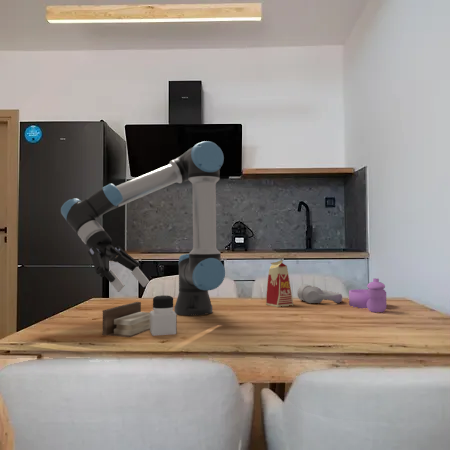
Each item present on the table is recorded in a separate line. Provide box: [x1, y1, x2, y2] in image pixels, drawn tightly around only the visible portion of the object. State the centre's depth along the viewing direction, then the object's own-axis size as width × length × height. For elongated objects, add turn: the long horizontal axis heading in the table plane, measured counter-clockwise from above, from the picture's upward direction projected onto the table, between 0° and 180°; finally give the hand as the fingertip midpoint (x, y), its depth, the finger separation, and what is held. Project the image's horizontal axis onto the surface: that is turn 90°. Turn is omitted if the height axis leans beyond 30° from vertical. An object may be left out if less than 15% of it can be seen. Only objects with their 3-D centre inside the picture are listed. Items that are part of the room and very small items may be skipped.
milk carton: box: [265, 259, 294, 308], centre depth 181 cm, size 9×9×20 cm
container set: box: [348, 278, 387, 313], centre depth 173 cm, size 25×15×13 cm, turn 175°
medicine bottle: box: [149, 294, 178, 337], centre depth 123 cm, size 7×7×12 cm
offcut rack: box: [102, 301, 150, 338], centre depth 126 cm, size 10×18×8 cm, turn 159°
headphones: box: [297, 284, 343, 304], centre depth 190 cm, size 18×8×20 cm
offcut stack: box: [114, 311, 150, 335], centre depth 126 cm, size 6×14×4 cm, turn 159°
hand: (134, 286), depth 126 cm, fingers open, 13 cm apart
